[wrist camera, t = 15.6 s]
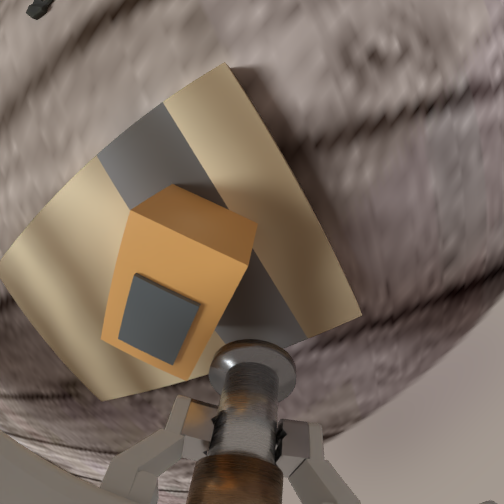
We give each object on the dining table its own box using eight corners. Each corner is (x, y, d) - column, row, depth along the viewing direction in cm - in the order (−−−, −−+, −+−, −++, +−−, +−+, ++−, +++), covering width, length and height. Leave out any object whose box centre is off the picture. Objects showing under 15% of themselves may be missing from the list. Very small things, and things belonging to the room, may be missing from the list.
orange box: (206, 324, 15) (186, 384, 11) (136, 291, 15) (98, 341, 11) (257, 223, 13) (247, 268, 9) (172, 183, 12) (127, 211, 9)
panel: (107, 391, 21) (101, 401, 20) (4, 261, 17) (-6, 268, 16) (357, 302, 15) (362, 315, 14) (229, 67, 11) (224, 62, 10)
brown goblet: (244, 405, 13) (219, 559, 6) (194, 358, 12) (136, 531, 5) (311, 379, 12) (315, 557, 5) (264, 325, 11) (238, 541, 4)
